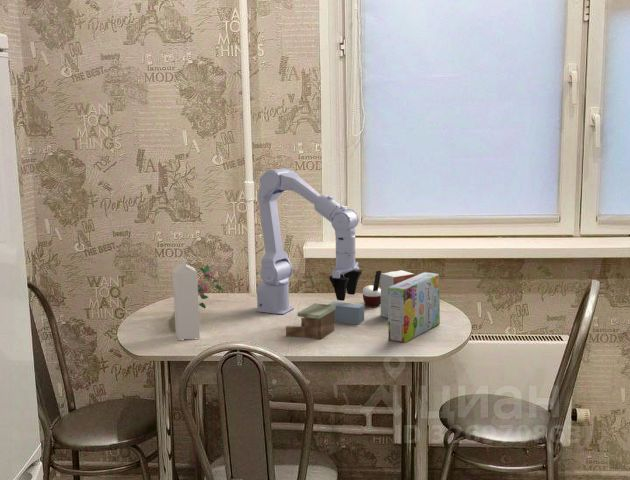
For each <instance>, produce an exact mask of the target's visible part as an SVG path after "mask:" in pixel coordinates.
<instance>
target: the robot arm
mask: <svg viewBox="0 0 630 480" xmlns="http://www.w3.org/2000/svg"><path fill="white" fill-rule="evenodd" d="M259 183H260V185H259V189H258V193H257V201H258V207H259V214H260V223H261V231H262V236H263V237H262V238H263V245H264V251H265V253H264V255H263V257H262V258H261V261H260V263H261V266H260V267H261V268H260V273H259V275H260V278H261V279H262V281H260V282H259V283H258V285H257V288H256V302H257V303H256V306H257V307H256V311H255V312H260V313H267V314H268V313H269V314H276V315H284V314H287V313H288V312H290V311H291V310H294V309H295V306H290V297H289V296H290V293H289V292H290V291H289V290H290V289H289V287H290V285H289V283H290V282H289V281H290V277H291V276H292V274H293V271H294V269H293V264H292V263H291V261H290V259H289V254H288V253H287V252H286V251H285V250H284V247H283V240H282V238H283V237H282V232H281V231H282V230H281V224H280V216H279V209H278V201H277V199H279V197H280V196H281V195H282V194H283V192H285V191H294V192H295V193H296V194H297V195H299V196H301V197H303V198H304V199H305V200H307V201H308V202H309V203H312V204H313V207H314V208H313V209H314V211H316V213H318V214H319V215H321V216H322V217H323V218H325V219H326V220H327V221H328V222H330V223H331V226H332V228H333V230H334V234H335V267H334V269H333V270H332V275H330V276H329V281H330V283H331V284H332V286H333V289H334V294H335V297H336V300H337V301H339V302H344V301H345V299H346V293H347V295H350V296H351V295H352V296H354V295H355V294H356V291H357V285H358V282H359V279H360V277H361V274H362V272H363V271H362V269H360V267H359V261H356V227H357V226H358V224H359V220H360V219H359V216H358V214H357V212H355V210H354V209H351V208H347V209H346V206H345V205H342V204H340V203H338V202H337V201H336V200H334V196H333V195H331V194H323V195H322V194H321V193H319V192H318V191H317V190H316V189H314V188H313V187H312V186H311V185H310V184H309V183H307V182H306V181H305V180H304V179H303V178H301V177H300V176H299V173H298V172H296V171H293V169H291V168H290V167H287V166H286V167H282V168H275V169H267V170H265V172H263V174H261V176H260V177H259Z"/></svg>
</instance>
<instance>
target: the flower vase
mask: <svg viewBox="0 0 630 480" xmlns="http://www.w3.org/2000/svg"><path fill="white" fill-rule="evenodd" d="M199 270H200V272H202V276H203V279H205V281H202V280H201V281H200V280H198V297H199V296H200V297H199V298H200V299H201V300H206V299H209V296H207V295H206V294H205V293H207V294H208V284H207V281H209V280H211V278H214V277H213V276H214V275H213V272H211V271H210V266H209V264H206V266H205V268H204V267H199ZM216 282H219V280H218V279H213V281H212V283H209V285H210V286H213V287H215V289H217V290H219V291H222V290H223V288H222V286H220V285H218V284H216V285H212V284H214V283H216ZM198 305H199V307H201V308H203V309H205V308H206V309H207V307H206V305H205V303H204V302H198ZM167 324H168V328H169V329H170V330H171V331H174V332H175V331H176V330H175V311H174V312H173V313H172V315H171V316H170V318H169V320H168V323H167Z"/></svg>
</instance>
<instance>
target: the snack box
mask: <svg viewBox="0 0 630 480" xmlns="http://www.w3.org/2000/svg"><path fill="white" fill-rule="evenodd" d="M440 301H441V299H440V273H433V272H425V271H424V272H422V273H419V274H416V275H414V277H412V278H409V279H407V280H405V281H402V282H400V283H397V284H395V285H392V286H390V287H388V321H387V322H388V329H387V330H388V341H393V342H398V343H406V342H409V341H410V340H412V339H414V338H417V337H418V336H419V335H422V334H423V333H425V332H427V331H429V330H430V329H433V328H434V327H437V326H438V325H440V324H441V315H440V314H441V313H440V310H441V309H440V305H441V304H440V303H441V302H440Z"/></svg>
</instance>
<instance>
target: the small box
mask: <svg viewBox="0 0 630 480" xmlns="http://www.w3.org/2000/svg"><path fill="white" fill-rule="evenodd" d="M414 276H415V273H412V272H409V271H405V270H402V269H401V270H395V271H389V272H384V273H382V272H381V276H380V289H381V304H380V316H383V317H385V318H388V287H390V286H392V285H395V284H397V283H400V282H402V281H405V280H407V279H409V278H412V277H414Z"/></svg>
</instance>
